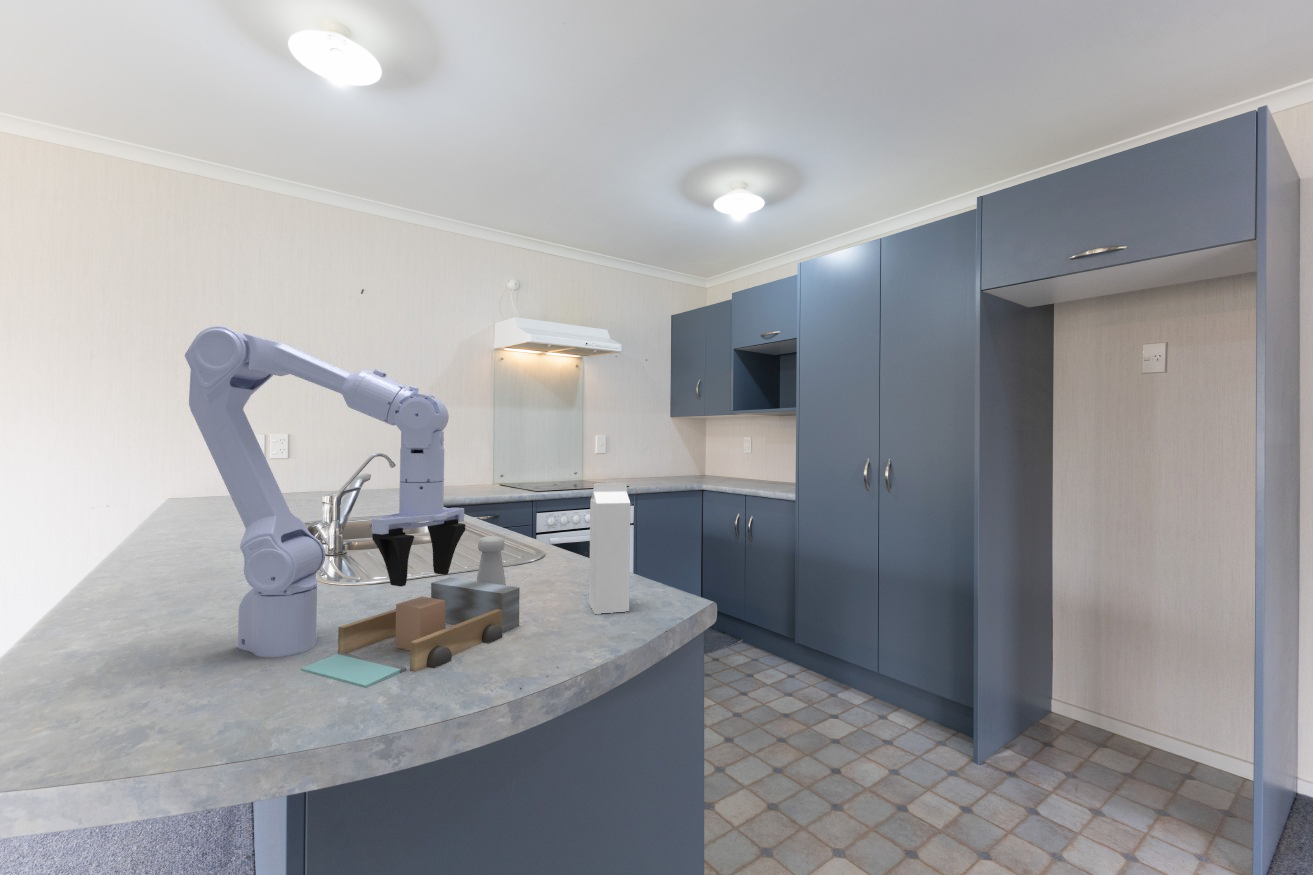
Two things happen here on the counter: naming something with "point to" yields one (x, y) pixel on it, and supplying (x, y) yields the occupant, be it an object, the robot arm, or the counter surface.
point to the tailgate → (353, 669)
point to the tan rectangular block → (418, 619)
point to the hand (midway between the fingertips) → (420, 579)
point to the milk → (609, 548)
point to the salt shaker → (491, 560)
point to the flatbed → (468, 607)
